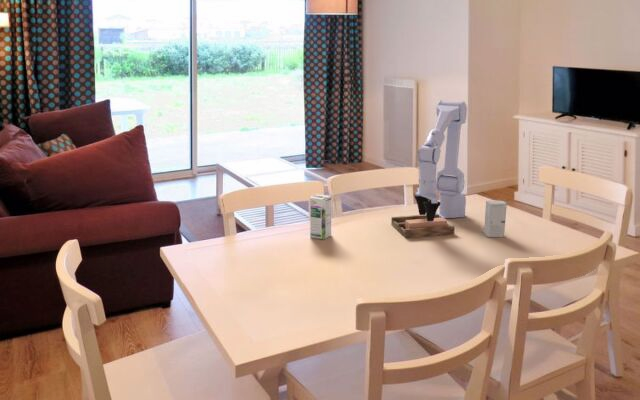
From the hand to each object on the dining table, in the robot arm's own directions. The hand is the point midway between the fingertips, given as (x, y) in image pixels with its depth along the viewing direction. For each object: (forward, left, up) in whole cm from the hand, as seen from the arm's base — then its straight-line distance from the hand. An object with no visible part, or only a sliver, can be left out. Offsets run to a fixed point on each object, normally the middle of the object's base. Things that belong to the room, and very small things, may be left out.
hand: (426, 217), depth 230 cm
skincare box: (-22, +8, -6) cm, 24 cm away
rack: (0, -4, -6) cm, 7 cm away
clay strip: (0, 0, -5) cm, 5 cm away
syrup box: (+37, -5, -6) cm, 38 cm away
